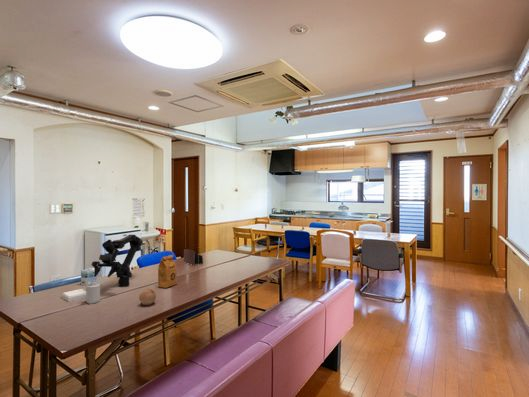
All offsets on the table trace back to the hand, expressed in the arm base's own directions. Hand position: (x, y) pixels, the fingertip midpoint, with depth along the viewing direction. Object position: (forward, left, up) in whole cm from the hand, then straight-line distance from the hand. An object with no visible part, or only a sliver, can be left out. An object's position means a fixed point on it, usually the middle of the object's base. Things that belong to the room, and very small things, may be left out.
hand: (101, 276), depth 192 cm
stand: (+16, -7, -13) cm, 22 cm away
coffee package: (-41, -12, -14) cm, 45 cm away
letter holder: (-65, -80, -14) cm, 104 cm away
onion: (-29, +22, -14) cm, 39 cm away
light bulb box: (+14, -38, -14) cm, 43 cm away
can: (+3, +7, -14) cm, 16 cm away
